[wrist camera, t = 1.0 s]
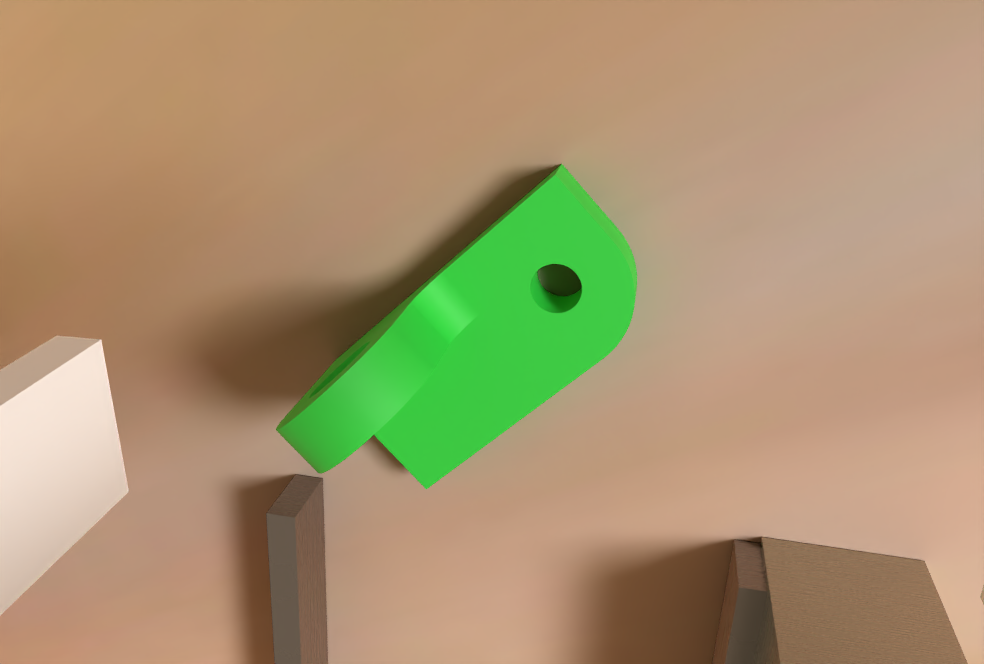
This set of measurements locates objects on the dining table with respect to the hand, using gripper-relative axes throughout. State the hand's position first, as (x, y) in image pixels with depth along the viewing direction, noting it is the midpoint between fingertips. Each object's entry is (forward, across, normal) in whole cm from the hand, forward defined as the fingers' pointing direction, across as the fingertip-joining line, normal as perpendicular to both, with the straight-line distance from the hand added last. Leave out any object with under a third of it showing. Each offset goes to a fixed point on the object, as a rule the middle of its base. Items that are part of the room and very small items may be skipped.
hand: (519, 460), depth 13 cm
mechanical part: (+20, -4, -6) cm, 21 cm away
